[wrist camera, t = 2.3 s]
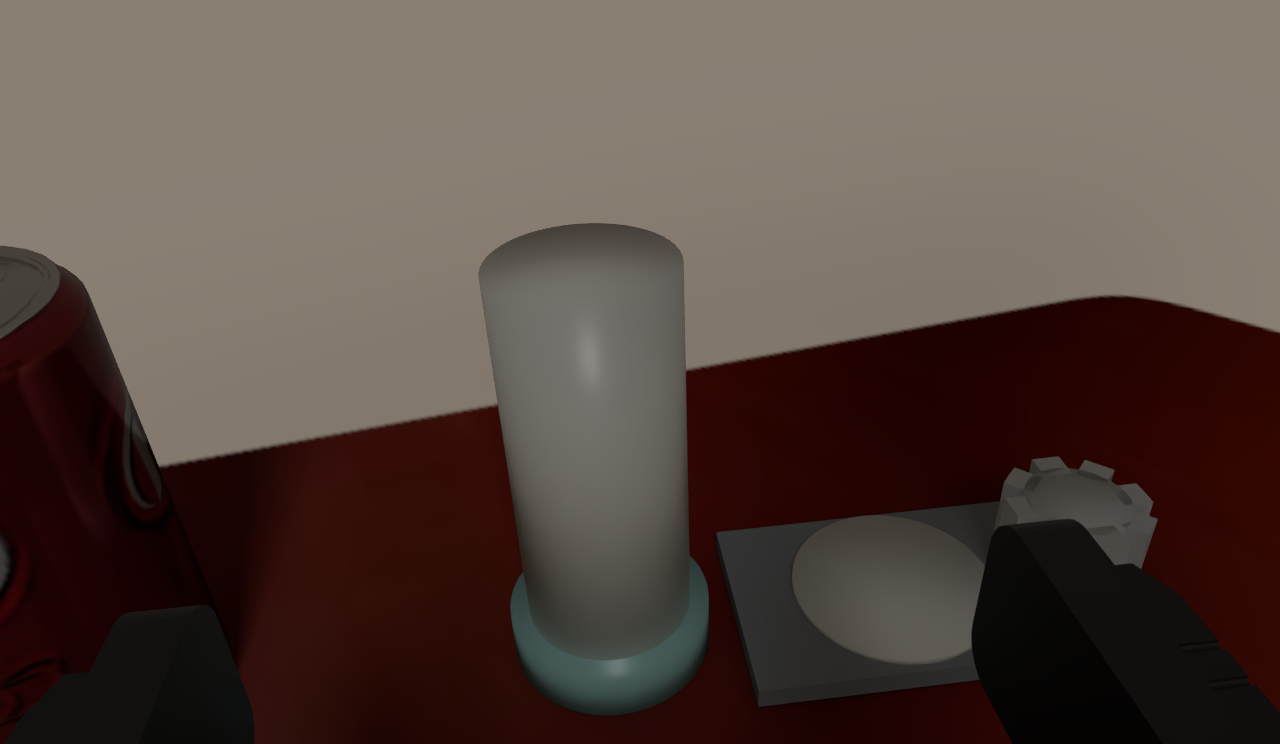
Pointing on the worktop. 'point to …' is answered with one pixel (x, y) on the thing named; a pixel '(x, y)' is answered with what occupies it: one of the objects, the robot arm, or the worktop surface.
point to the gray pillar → (597, 463)
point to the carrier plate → (899, 583)
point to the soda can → (73, 490)
